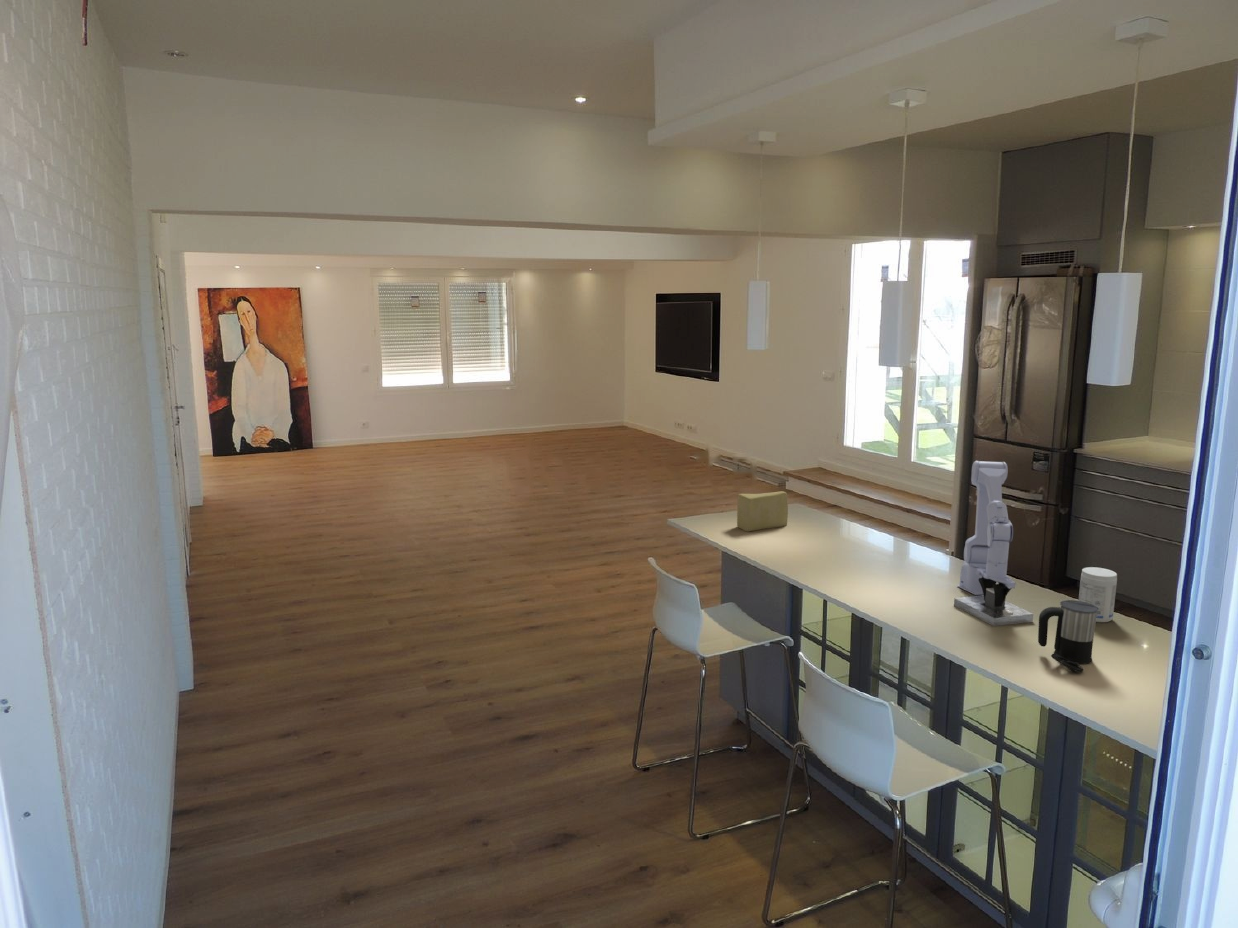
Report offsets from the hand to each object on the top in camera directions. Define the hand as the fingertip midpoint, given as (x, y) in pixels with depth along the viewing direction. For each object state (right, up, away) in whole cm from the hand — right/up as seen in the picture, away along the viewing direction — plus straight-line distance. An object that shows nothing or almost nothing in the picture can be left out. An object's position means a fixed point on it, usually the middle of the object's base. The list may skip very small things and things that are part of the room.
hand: (993, 603), depth 258 cm
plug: (+1, -2, +1) cm, 2 cm away
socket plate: (0, -3, +1) cm, 3 cm away
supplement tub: (+30, -4, -2) cm, 30 cm away
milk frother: (+5, -10, -35) cm, 37 cm away
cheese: (-53, +16, +100) cm, 115 cm away
